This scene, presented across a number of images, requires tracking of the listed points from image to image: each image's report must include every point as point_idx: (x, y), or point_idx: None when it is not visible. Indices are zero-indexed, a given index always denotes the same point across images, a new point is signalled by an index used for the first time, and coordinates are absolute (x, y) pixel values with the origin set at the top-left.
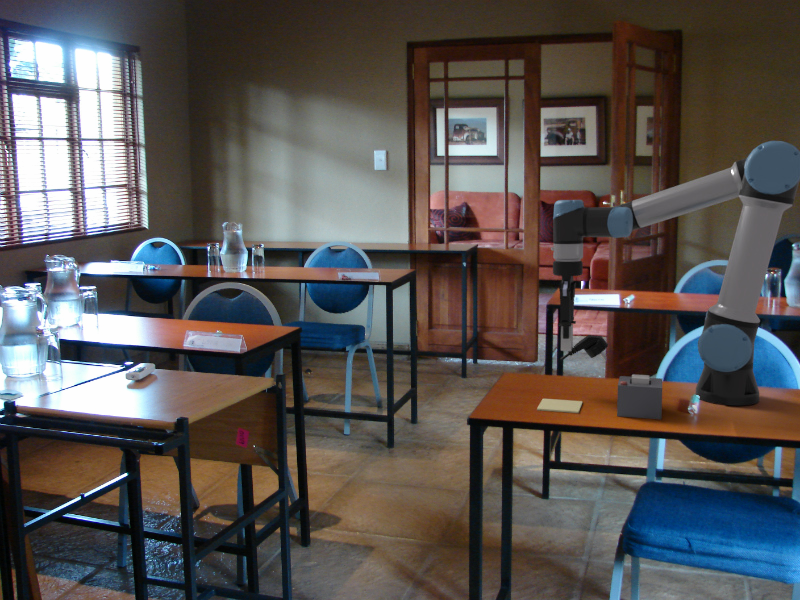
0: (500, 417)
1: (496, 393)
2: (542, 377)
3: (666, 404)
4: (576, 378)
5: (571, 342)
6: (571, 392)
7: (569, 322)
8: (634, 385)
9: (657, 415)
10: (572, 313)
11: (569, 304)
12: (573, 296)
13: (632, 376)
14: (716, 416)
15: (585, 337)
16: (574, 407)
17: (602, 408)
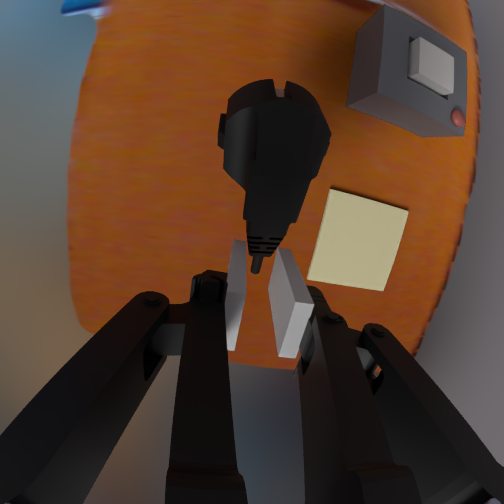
0: (409, 340)
1: (252, 361)
2: (89, 267)
3: (321, 12)
4: (81, 188)
5: (292, 262)
6: (224, 205)
7: (390, 336)
8: (460, 97)
9: None
10: (221, 344)
11: (465, 423)
12: (387, 497)
13: (439, 83)
14: None
15: (259, 192)
16: (381, 215)
17: (372, 150)
